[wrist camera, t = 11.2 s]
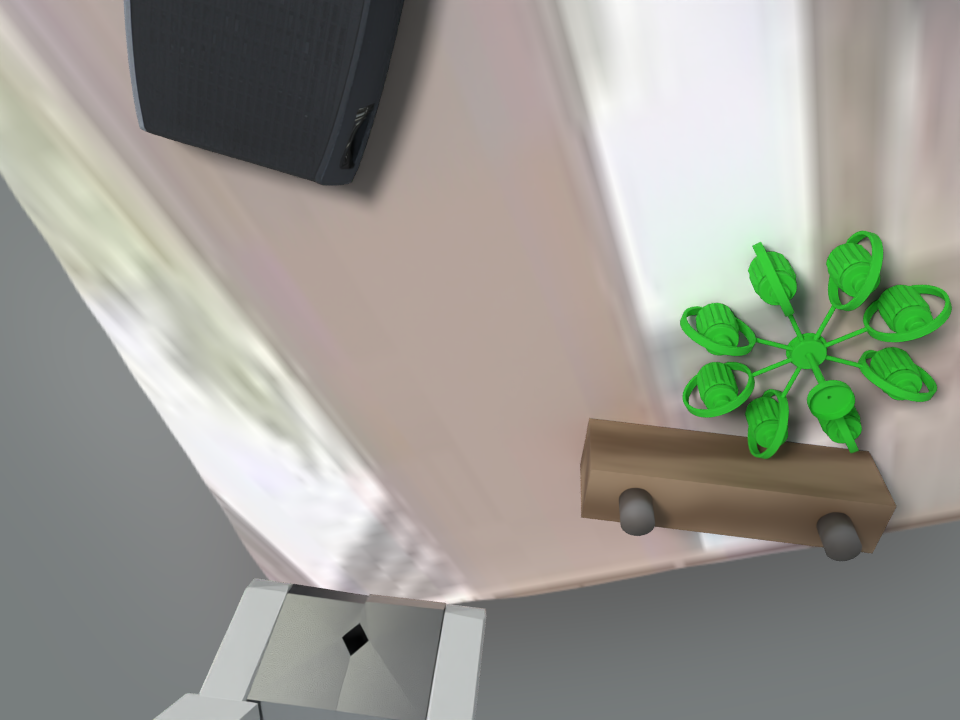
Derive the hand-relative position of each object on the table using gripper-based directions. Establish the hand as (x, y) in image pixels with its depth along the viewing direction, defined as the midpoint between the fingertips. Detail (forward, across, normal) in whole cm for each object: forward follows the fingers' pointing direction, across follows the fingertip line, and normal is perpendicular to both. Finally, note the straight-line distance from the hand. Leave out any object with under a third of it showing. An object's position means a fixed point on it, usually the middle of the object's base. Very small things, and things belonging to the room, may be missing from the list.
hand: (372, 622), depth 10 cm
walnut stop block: (+34, -16, +24) cm, 45 cm away
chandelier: (+35, -18, +14) cm, 42 cm away
